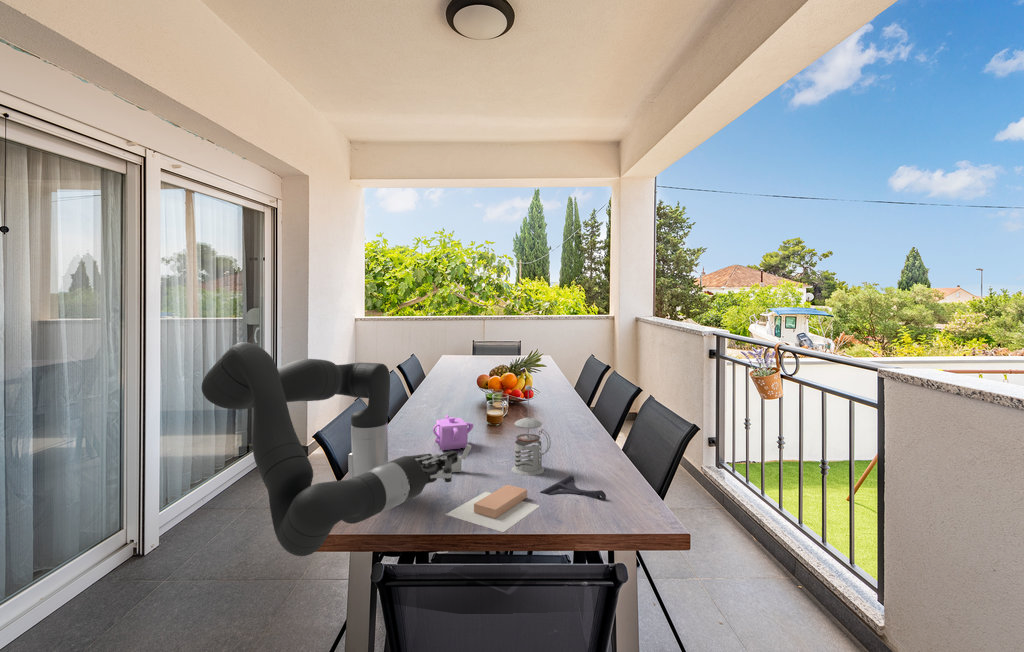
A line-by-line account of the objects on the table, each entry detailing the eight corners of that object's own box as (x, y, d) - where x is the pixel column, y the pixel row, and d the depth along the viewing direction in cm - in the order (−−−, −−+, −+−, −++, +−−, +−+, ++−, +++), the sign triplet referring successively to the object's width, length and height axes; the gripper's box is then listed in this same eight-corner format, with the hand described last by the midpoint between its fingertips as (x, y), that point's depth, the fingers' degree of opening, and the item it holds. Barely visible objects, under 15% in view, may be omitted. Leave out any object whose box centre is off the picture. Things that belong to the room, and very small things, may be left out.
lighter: (446, 472, 142) (446, 445, 142) (447, 470, 144) (447, 443, 144) (471, 472, 142) (471, 445, 142) (471, 470, 144) (471, 443, 144)
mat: (445, 516, 113) (445, 514, 113) (485, 493, 127) (485, 491, 127) (503, 535, 105) (503, 532, 105) (540, 508, 118) (540, 505, 118)
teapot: (428, 441, 174) (428, 412, 174) (466, 437, 179) (466, 409, 178) (437, 456, 157) (437, 425, 157) (479, 452, 161) (479, 421, 161)
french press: (520, 462, 152) (520, 381, 150) (555, 467, 147) (556, 384, 145) (505, 472, 143) (505, 386, 141) (542, 478, 138) (543, 390, 136)
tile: (473, 503, 114) (506, 484, 126) (473, 512, 114) (506, 492, 126) (495, 509, 111) (527, 489, 123) (495, 519, 111) (527, 498, 123)
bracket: (590, 512, 118) (590, 501, 117) (539, 496, 127) (539, 486, 127) (617, 494, 129) (618, 484, 129) (569, 481, 138) (569, 471, 138)
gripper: (367, 495, 91) (431, 467, 106) (420, 513, 84) (481, 480, 98) (366, 456, 91) (430, 432, 105) (419, 470, 83) (480, 443, 98)
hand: (455, 455), depth 102 cm, fingers closed
